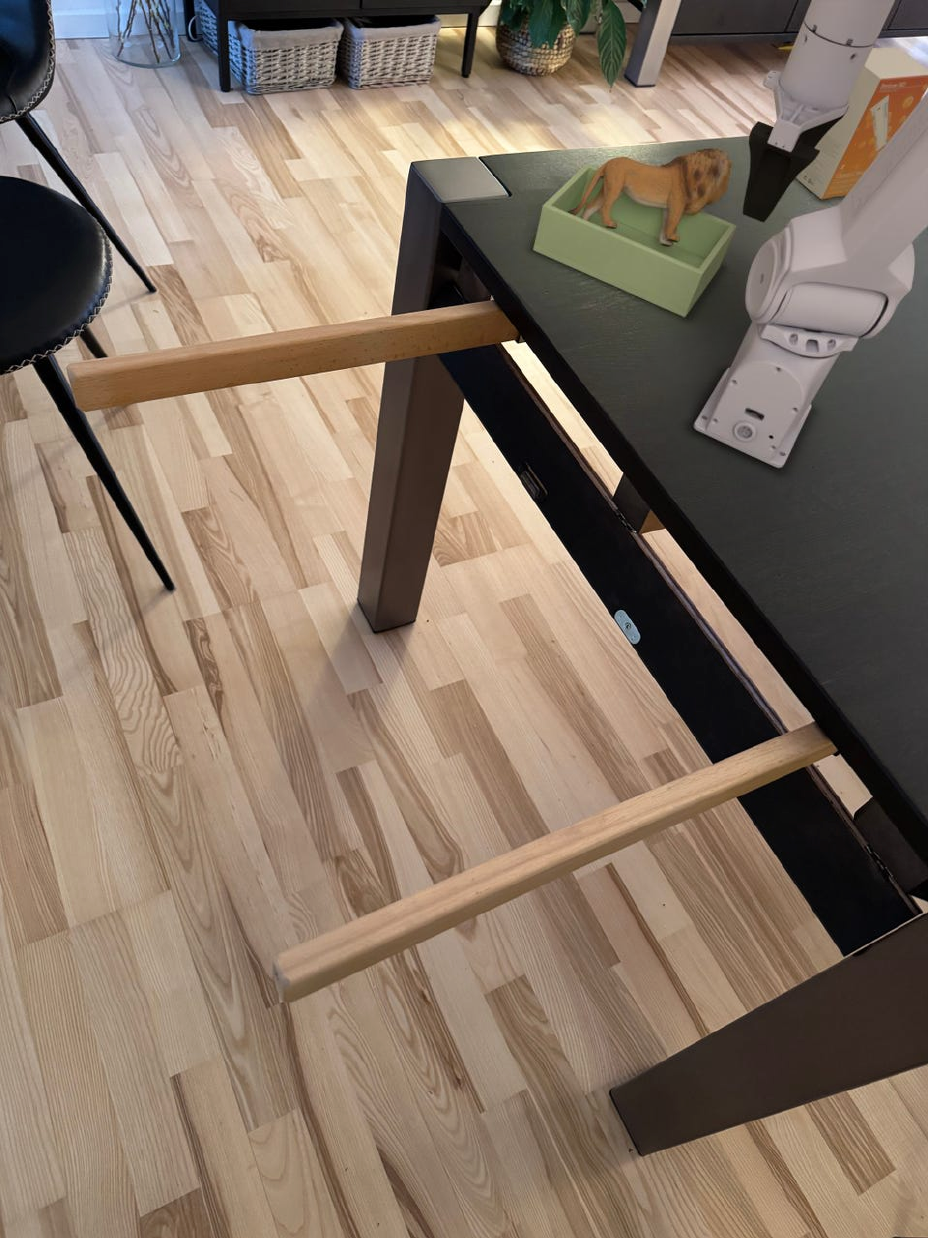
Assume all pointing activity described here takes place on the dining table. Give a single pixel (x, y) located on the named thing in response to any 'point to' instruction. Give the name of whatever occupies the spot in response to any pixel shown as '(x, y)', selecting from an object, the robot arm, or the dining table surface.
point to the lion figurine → (660, 187)
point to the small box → (866, 121)
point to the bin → (633, 245)
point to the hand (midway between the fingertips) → (766, 198)
